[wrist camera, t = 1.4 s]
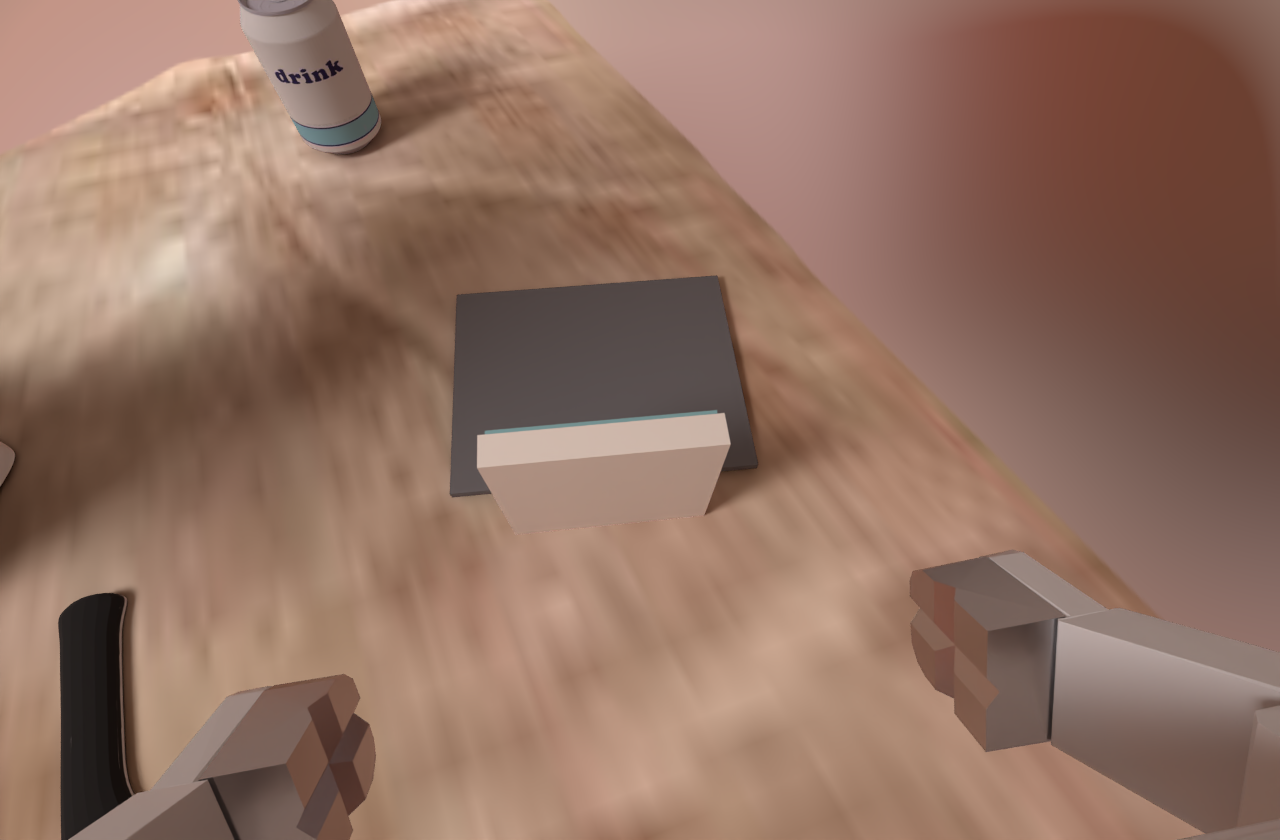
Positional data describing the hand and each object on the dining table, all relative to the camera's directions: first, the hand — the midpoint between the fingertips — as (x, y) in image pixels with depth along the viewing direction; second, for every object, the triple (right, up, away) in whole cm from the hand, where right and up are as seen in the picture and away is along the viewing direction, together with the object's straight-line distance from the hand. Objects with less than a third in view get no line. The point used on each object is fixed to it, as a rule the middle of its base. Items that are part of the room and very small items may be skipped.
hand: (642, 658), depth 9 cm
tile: (-2, -2, +30) cm, 30 cm away
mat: (-3, +6, +34) cm, 35 cm away
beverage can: (-27, +29, +45) cm, 60 cm away
